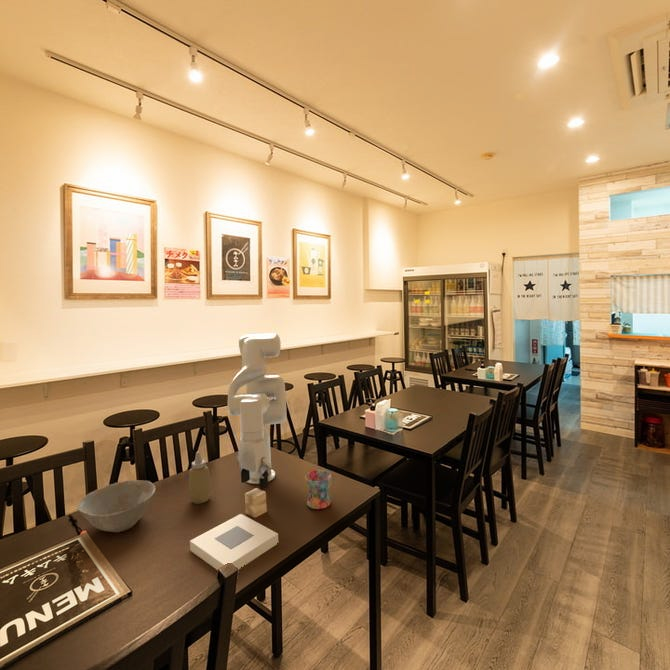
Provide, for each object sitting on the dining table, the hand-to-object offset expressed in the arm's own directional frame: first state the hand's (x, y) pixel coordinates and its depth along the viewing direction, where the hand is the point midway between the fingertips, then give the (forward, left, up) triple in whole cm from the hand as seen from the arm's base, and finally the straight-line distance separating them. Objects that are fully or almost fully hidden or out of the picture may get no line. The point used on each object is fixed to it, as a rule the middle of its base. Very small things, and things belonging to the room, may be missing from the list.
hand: (254, 484), depth 132 cm
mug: (+13, +19, -10) cm, 25 cm away
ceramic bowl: (-31, -31, -10) cm, 45 cm away
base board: (+9, -15, -10) cm, 21 cm away
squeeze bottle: (-24, -6, -10) cm, 27 cm away
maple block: (-1, +1, -10) cm, 10 cm away
